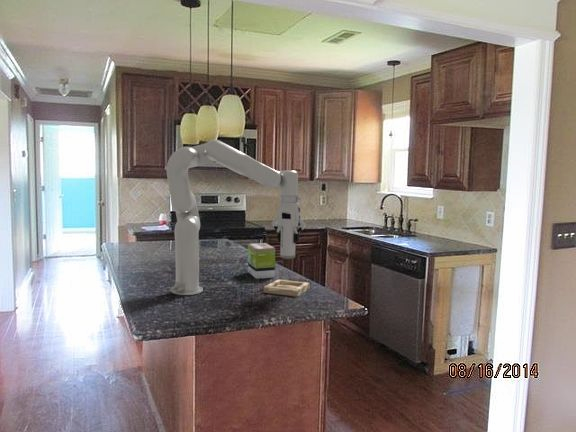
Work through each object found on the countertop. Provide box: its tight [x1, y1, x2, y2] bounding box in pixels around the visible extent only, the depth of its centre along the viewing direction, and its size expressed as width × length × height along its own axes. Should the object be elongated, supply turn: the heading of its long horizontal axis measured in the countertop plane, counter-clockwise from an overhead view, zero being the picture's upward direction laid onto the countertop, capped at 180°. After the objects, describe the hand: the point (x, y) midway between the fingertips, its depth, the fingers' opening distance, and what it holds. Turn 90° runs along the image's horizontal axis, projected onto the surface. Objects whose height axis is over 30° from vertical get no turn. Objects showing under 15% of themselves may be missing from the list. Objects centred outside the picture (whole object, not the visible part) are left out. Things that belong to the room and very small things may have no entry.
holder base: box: [263, 278, 311, 297], centre depth 202 cm, size 15×15×2 cm
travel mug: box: [279, 213, 296, 260], centre depth 200 cm, size 6×7×20 cm
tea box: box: [247, 242, 276, 280], centre depth 231 cm, size 15×10×15 cm
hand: (288, 241), depth 200 cm, fingers closed on travel mug, 6 cm apart
